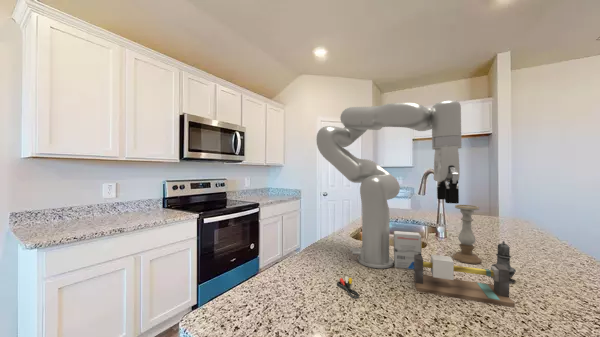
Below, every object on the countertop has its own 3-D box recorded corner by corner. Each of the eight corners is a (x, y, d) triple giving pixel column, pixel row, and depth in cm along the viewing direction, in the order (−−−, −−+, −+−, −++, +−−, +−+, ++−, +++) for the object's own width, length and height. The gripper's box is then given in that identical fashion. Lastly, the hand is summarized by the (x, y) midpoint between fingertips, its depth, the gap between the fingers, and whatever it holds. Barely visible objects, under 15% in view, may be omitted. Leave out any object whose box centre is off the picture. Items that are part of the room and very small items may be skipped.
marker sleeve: (433, 277, 69) (433, 259, 69) (430, 271, 73) (430, 254, 73) (453, 280, 67) (453, 261, 67) (449, 273, 71) (450, 256, 71)
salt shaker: (520, 284, 72) (521, 244, 72) (498, 282, 73) (498, 243, 73) (508, 276, 78) (508, 238, 78) (487, 274, 79) (487, 237, 79)
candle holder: (455, 254, 98) (456, 203, 98) (482, 259, 92) (483, 206, 92) (450, 259, 92) (450, 205, 92) (479, 266, 86) (479, 208, 86)
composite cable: (361, 300, 64) (361, 290, 64) (343, 300, 64) (343, 291, 64) (350, 282, 74) (350, 274, 74) (335, 282, 73) (335, 274, 73)
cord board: (416, 291, 68) (416, 262, 68) (413, 276, 77) (413, 251, 77) (514, 307, 60) (514, 275, 60) (498, 288, 69) (498, 260, 69)
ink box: (419, 265, 86) (419, 232, 86) (421, 270, 82) (421, 235, 82) (393, 262, 89) (393, 230, 89) (394, 267, 84) (394, 233, 84)
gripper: (427, 147, 82) (427, 197, 82) (439, 141, 66) (439, 204, 65) (452, 146, 80) (453, 198, 80) (471, 139, 63) (472, 205, 63)
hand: (447, 201), depth 72 cm, fingers open, 9 cm apart
